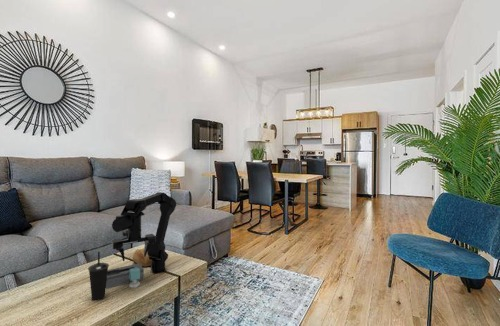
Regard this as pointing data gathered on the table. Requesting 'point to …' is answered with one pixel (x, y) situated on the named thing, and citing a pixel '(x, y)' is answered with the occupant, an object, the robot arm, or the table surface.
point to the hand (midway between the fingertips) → (134, 258)
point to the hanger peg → (134, 277)
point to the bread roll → (141, 258)
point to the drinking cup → (98, 279)
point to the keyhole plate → (122, 275)
